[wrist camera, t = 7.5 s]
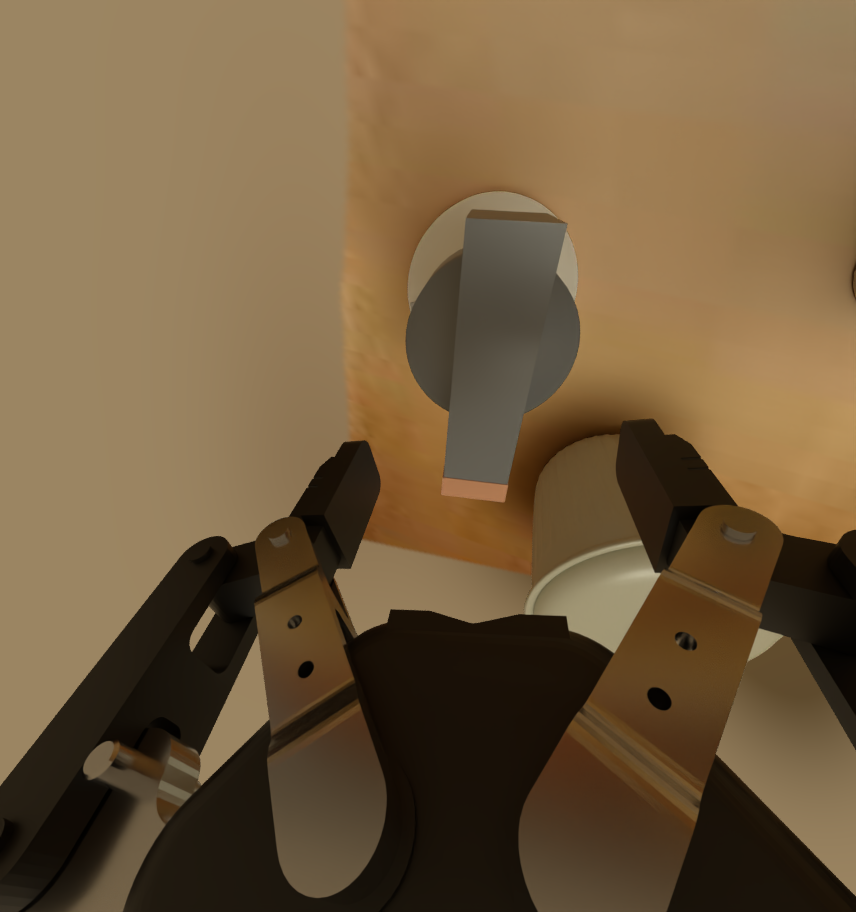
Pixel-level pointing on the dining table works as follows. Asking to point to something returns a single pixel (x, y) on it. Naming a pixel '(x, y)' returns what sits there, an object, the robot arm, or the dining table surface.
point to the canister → (592, 547)
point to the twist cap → (493, 342)
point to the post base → (450, 238)
